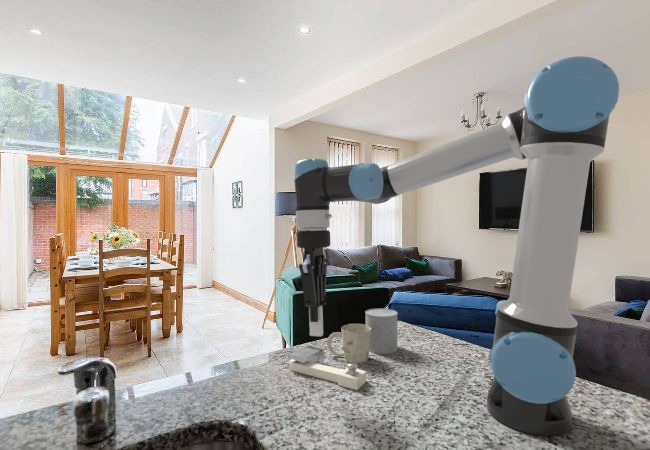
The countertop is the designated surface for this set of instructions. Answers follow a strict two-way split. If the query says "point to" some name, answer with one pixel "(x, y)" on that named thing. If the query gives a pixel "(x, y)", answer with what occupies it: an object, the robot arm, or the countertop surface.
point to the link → (330, 373)
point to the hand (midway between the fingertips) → (316, 334)
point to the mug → (353, 342)
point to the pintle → (352, 368)
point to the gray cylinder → (382, 330)
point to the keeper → (309, 354)
